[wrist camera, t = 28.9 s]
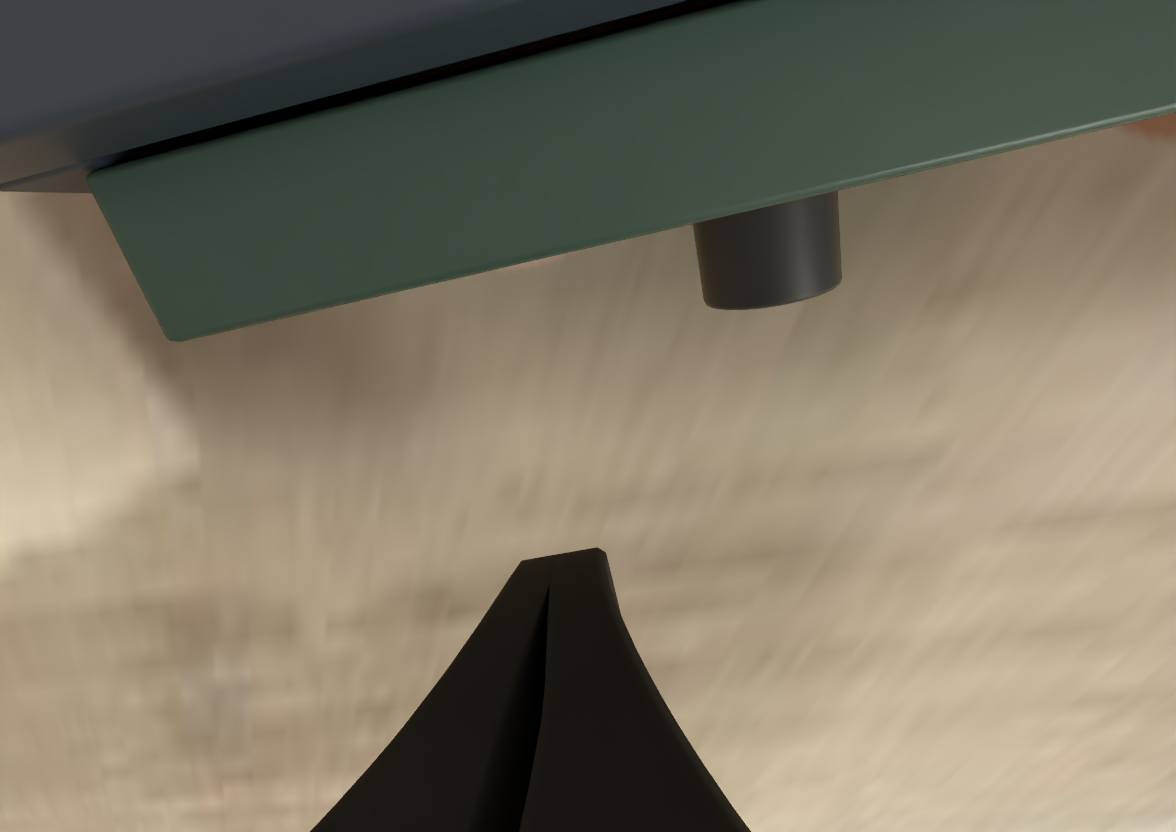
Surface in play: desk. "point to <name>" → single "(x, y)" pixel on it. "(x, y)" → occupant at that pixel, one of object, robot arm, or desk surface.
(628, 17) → the lemon
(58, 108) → the cabinet
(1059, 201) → the desk surface
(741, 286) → the drawer
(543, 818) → the robot arm
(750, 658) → the desk surface
